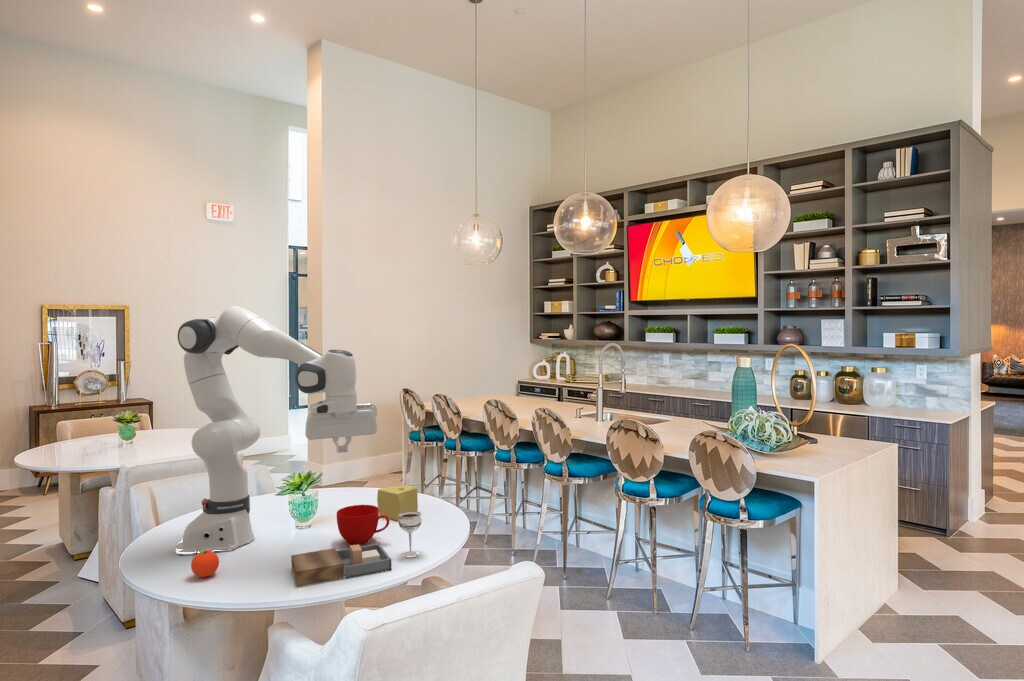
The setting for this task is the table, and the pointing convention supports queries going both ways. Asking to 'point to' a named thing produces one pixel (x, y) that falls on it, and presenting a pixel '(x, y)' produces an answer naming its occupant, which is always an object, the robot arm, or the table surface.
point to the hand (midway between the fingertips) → (342, 452)
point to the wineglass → (409, 525)
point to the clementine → (204, 563)
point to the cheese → (397, 500)
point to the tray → (365, 567)
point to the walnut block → (317, 567)
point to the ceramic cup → (359, 523)
